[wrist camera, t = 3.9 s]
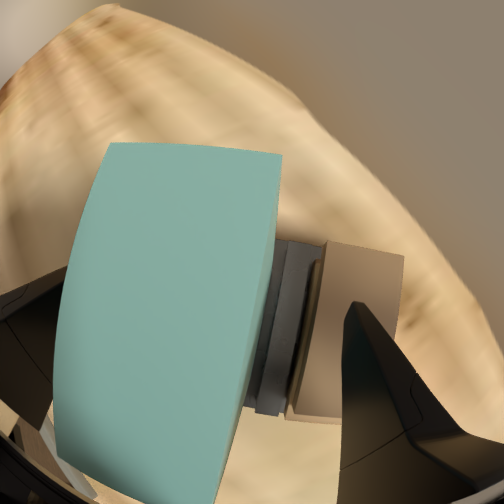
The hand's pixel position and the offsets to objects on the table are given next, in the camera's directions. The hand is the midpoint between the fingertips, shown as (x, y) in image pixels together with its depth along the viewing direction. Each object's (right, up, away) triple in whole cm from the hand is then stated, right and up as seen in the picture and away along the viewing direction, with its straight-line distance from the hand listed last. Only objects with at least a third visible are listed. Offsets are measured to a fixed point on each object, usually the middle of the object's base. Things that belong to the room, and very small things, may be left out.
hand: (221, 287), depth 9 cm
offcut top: (+6, -3, +3) cm, 7 cm away
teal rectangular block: (0, -3, +6) cm, 6 cm away
